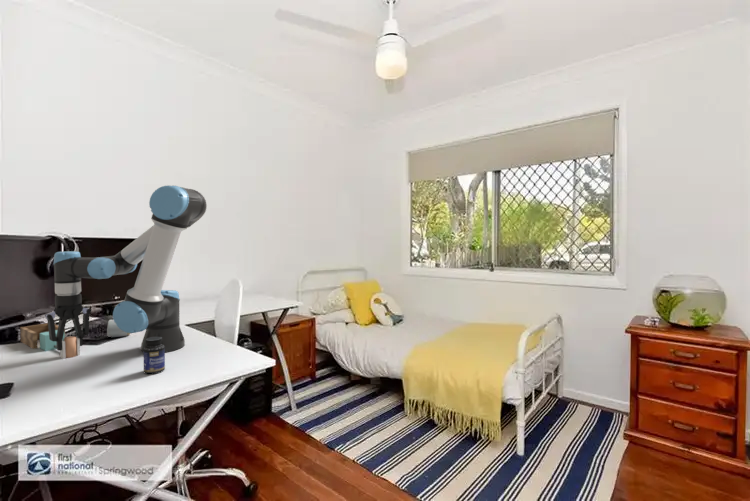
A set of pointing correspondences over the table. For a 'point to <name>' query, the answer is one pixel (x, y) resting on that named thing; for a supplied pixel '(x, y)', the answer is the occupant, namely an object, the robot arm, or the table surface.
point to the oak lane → (33, 334)
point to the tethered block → (51, 345)
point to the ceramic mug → (115, 330)
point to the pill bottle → (154, 355)
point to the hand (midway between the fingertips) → (70, 356)
